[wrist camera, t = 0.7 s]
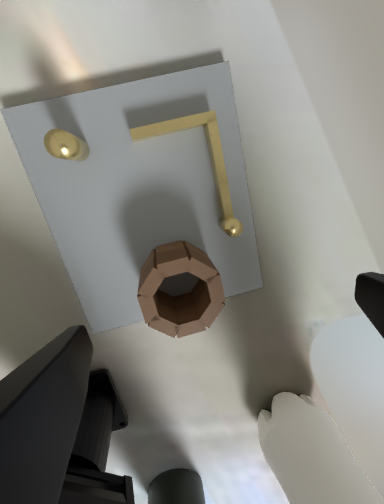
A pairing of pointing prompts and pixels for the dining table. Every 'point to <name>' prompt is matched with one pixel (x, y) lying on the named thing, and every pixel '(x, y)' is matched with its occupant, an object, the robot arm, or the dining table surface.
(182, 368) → the dining table surface
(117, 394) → the robot arm
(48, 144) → the end peg
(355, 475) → the water bottle
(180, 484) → the wine bottle
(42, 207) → the slate board
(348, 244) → the dining table surface
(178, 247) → the walnut ring
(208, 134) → the bent rail
